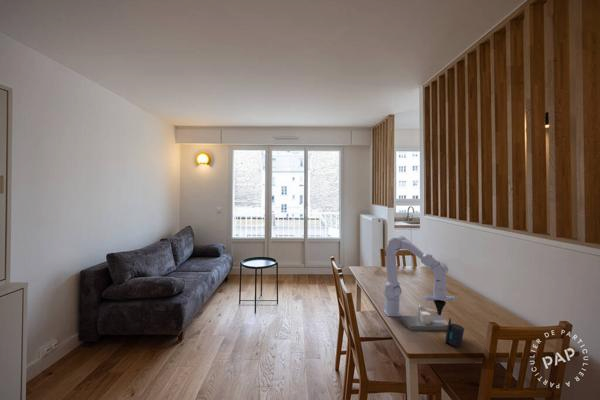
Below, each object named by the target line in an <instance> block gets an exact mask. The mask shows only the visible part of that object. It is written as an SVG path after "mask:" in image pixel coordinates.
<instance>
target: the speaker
mask: <svg viewBox="0 0 600 400" xmlns="http://www.w3.org/2000/svg"><path fill="white" fill-rule="evenodd" d="M451 319H452V318H451V317H449V319H448V322H449V323H448V328H447V330H446V335H445V344H446V345H447V344H449V345H451V346H453V347H457V348H458V347H460V348H461V346H462V342H463V337H464V332H465V327H464V326H462V325H459V324H457V323H452V321H451Z"/></svg>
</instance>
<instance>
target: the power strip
mask: <svg viewBox="0 0 600 400" xmlns="http://www.w3.org/2000/svg"><path fill="white" fill-rule="evenodd" d="M400 320H401V322H402V323H403V324H404V325H405V326H406V328H408V330H410V331H447V328H448V323H449V320H447V319H446V318H444V316H442V315H431V324H422V323H421V322H420V317H419V316H418V315H402V316H400Z"/></svg>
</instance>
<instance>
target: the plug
mask: <svg viewBox="0 0 600 400" xmlns="http://www.w3.org/2000/svg"><path fill="white" fill-rule="evenodd" d="M431 316H432V314H431V313H429V311H422V312H420V322H421V323H422V324H431Z"/></svg>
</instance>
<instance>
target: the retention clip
mask: <svg viewBox="0 0 600 400" xmlns="http://www.w3.org/2000/svg"><path fill="white" fill-rule="evenodd" d="M417 308H418V309H417V312H418V313H417V316H419V317H420V312H423V311H426V312H431V313H435V314H437V309H434V308H431V307H427V306H424V305H421V304H419V305H418V306H417Z"/></svg>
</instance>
